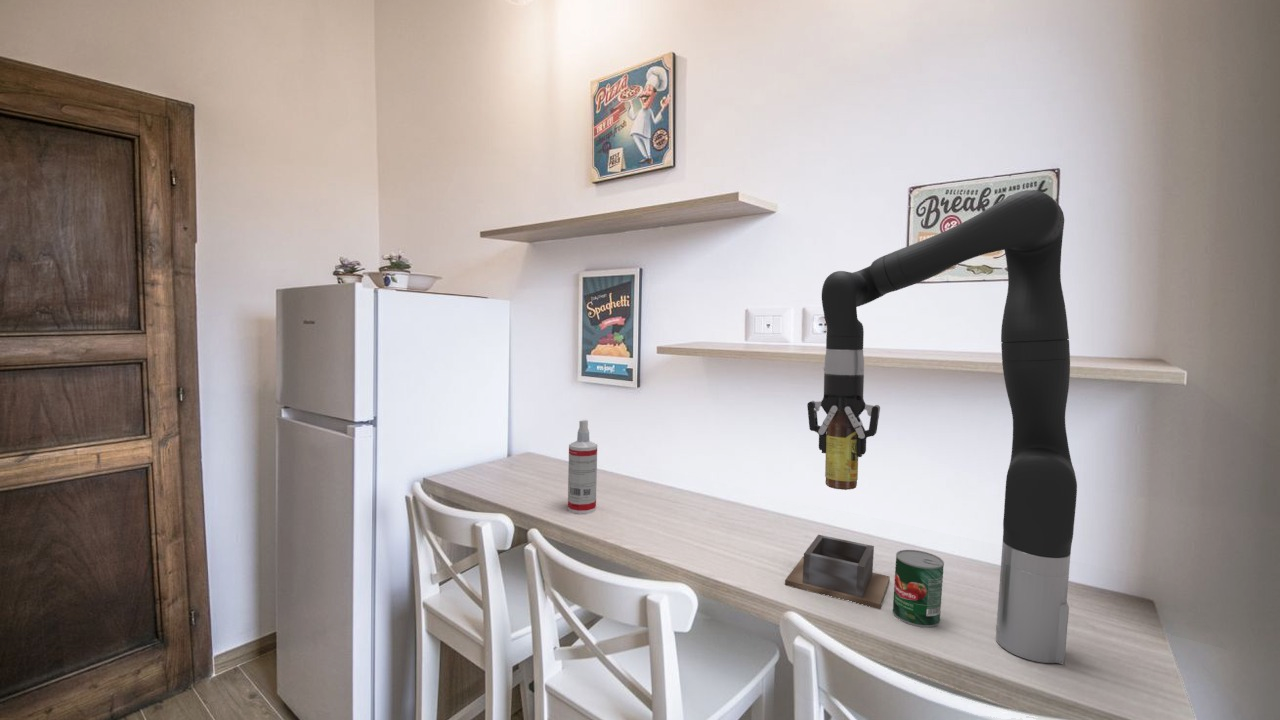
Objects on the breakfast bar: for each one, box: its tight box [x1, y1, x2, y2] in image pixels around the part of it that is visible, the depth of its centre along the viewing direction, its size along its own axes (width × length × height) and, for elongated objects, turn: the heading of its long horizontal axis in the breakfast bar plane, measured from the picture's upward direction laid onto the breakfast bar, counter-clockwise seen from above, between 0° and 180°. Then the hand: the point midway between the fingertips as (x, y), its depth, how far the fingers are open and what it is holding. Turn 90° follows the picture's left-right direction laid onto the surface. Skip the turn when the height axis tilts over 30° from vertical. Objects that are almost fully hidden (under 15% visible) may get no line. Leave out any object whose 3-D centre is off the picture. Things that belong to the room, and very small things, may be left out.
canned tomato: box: [891, 549, 945, 628], centre depth 104 cm, size 8×8×11 cm
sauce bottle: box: [824, 397, 859, 491], centre depth 115 cm, size 6×6×20 cm
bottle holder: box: [784, 534, 891, 610], centre depth 117 cm, size 18×14×7 cm
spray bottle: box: [567, 419, 598, 515], centre depth 158 cm, size 8×8×25 cm
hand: (841, 454), depth 116 cm, fingers closed on sauce bottle, 6 cm apart
